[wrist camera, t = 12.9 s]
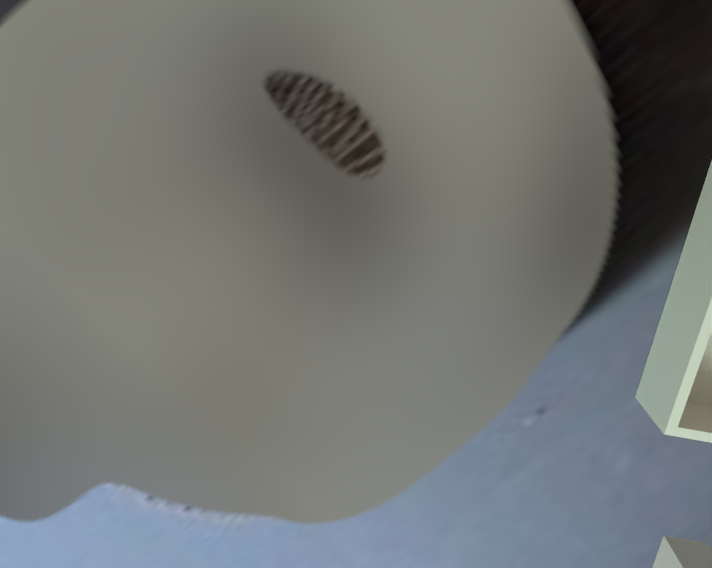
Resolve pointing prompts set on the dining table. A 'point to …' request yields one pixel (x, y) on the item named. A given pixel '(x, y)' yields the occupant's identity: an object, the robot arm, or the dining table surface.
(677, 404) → the bin
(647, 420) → the dining table surface
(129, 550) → the dining table surface
